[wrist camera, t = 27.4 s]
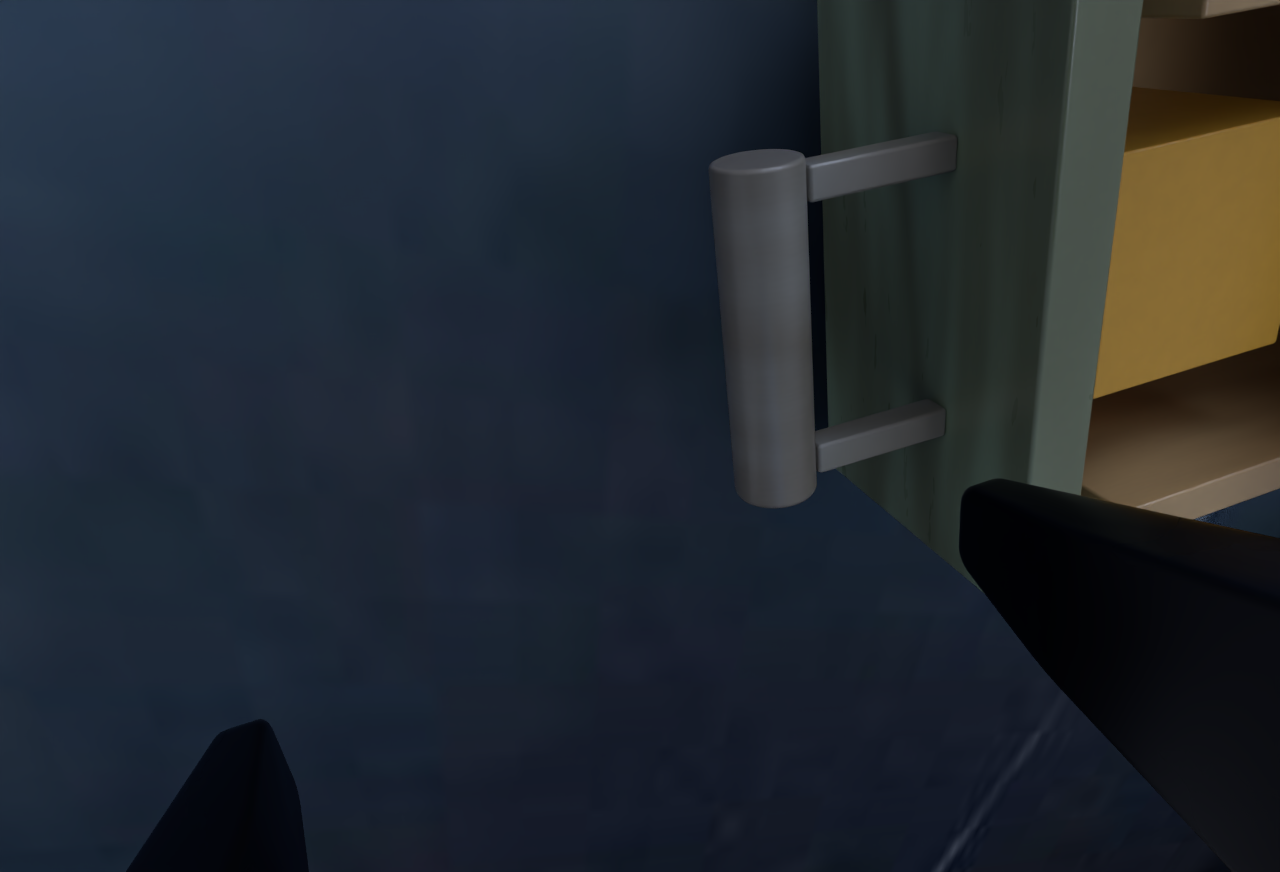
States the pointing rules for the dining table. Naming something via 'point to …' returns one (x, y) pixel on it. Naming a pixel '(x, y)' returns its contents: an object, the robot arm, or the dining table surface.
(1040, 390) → the drawer
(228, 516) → the dining table surface
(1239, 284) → the block
